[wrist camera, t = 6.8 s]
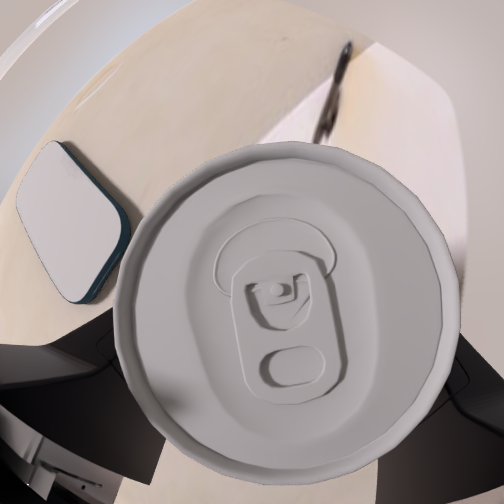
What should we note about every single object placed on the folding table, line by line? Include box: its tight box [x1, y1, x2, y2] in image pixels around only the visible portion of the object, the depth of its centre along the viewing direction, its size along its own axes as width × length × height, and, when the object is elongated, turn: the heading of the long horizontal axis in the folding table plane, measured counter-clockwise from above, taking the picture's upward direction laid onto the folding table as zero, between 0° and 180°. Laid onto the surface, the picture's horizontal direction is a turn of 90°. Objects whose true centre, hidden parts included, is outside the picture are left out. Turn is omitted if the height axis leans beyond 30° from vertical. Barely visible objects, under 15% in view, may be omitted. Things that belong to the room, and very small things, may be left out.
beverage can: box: [113, 141, 461, 485], centre depth 9 cm, size 5×5×12 cm
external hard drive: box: [16, 141, 130, 304], centre depth 26 cm, size 24×12×2 cm, turn 51°
